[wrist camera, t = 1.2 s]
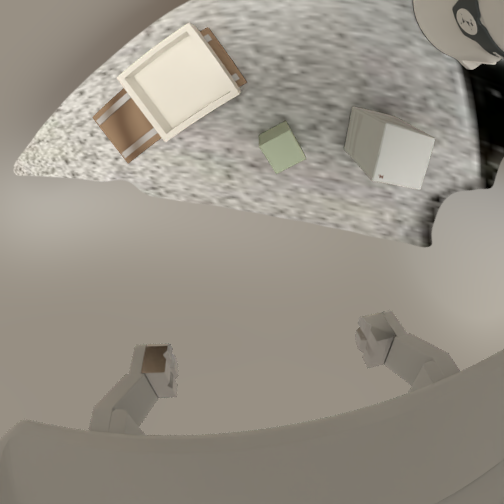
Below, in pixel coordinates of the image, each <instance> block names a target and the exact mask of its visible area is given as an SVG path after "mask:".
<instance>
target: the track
mask: <svg viewBox="0 0 504 504" xmlns="http://www.w3.org/2000/svg"><path fill="white" fill-rule="evenodd" d="M200 33H201V34H202V36H203V37H204V38H205V40H206V41H207V42H208V44H209V45H210V46H211V48H212V49H213V51H214V52H215V53H216V55H217V56H218V58H219V59H220V60H221V62H222V63H223V65H224V66H225V67H226V69H227V70H228V72H229V73H230V75H231V76H232V78H233V79H234V80H235V82H236V83H237V85H238V86H239V87H240V86H242V85H244V84H245V83H247V81H246V80H245V78H244V77H243V75H242V74H241V73H240V71H239V70H238V68H237V67H236V65H235V64H234V62H233V61H232V59H231V58H230V57H229V55H228V54H227V52H226V51H225V50H224V48H223V47H222V45H221V44H220V43H219V41H218V40H217V38H216V37H215V36H214V34H213V33H212V32H211V30H210V29H209V28H208V27H207V28H206V29H204V30H202V31H201V32H200ZM93 119H94V120H95V121H96V123H97V124H98V125H99V127H100V128H101V129H102V131H103V132H104V133H105V134H106V136H107V137H108V138H109V140H110V141H111V142H112V144H113V145H114V146H115V147H116V149H117V150H118V151H119V153H120V154H121V155H122V156H123V158H124V159H125V160H126V161H127V163H129V162H131V161H132V160H133V159H134V158H136V157H137V156H138V155H139V154H141V153H142V152H143V151H145V150H146V149H147V148H149V147H150V146H151V145H152V144H154V143H155V142H156V141H158V140H159V139H160V138H161V136H160V135H159V134H158V132H157V131H156V130H155V128H154V127H153V126H152V125H151V123H150V122H149V121H148V119H147V118H146V117H145V115H144V114H143V113H142V111H141V110H140V109H139V107H138V106H137V105H136V103H135V102H134V101H133V99H132V98H131V97H130V95H129V94H128V93H127V91H126V90H125V89H122V90H121V91H120V92H119V93H118V94H117V95H116V96H115V97H113V98H112V99H111V100H110V101H109V102H108V103H107V104H106V105H105V106H104V107H103V108H102V109H101V110H100V111H98V112H97V113H96V114H95V115H94V116H93Z"/></svg>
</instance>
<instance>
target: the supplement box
mask: <svg viewBox="0 0 504 504" xmlns="http://www.w3.org/2000/svg"><path fill="white" fill-rule="evenodd" d="M434 142H435V138H434V137H432V136H430V135H428V134H427V133H425V132H423V131H421V130H419V129H418V128H416V127H414V126H412V125H410V124H408V123H406V122H405V121H403V120H401V119H399V118H397V117H395V116H391V115H387V114H384V113H380V112H376V111H372V110H368V109H363V108H359V107H354V106H353V107H352V111H351V115H350V121H349V126H348V131H347V137H346V142H345V147H344V150H345V151H346V152H347V153H348V154H349V155H350V156H351V158H352V159H353V160H354V161H355V162H356V163H357V164H358V165H359V167H360V168H361V169H362V170H363V171H364V172H365V174H366V175H367V176H368V177H369V178H370V180H371V181H374V182H380V183H387V184H392V185H398V186H403V187H408V188H413V189H417V190H420V189H421V186H422V183H423V180H424V177H425V173H426V170H427V167H428V163H429V160H430V157H431V153H432V150H433V146H434Z"/></svg>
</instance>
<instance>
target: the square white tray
mask: <svg viewBox="0 0 504 504" xmlns="http://www.w3.org/2000/svg"><path fill="white" fill-rule="evenodd" d="M117 79H118V81H119V82H120V83H121V85H122V86H123V87H124V89H125V90H126V91H127V93H128V94H129V95H130V97H131V98H132V99H133V101H134V102H135V103H136V105H137V106H138V107H139V109H140V110H141V111H142V113H143V114H144V115H145V117H146V118H147V119H148V121H149V122H150V123H151V125H152V126H153V127H154V128H155V130H156V131H157V132H158V134H159V135H160V136H161V138H162V139H163V140H164V142H167V141H168V140H169V139H171V138H172V137H174V136H175V135H176V134H178V133H179V132H181V131H182V130H184V129H185V128H187V127H188V126H190V125H191V124H193V123H194V122H196V121H197V120H199V119H200V118H202V117H203V116H205V115H206V114H208V113H209V112H211V111H213V110H214V109H216V108H217V107H219V106H221V105H222V104H224V103H226V102H227V101H229V100H231V99H232V98H234V97H236V96H237V95H239V94H240V93H241V89H240V88H239V86H238V85H237V83H236V82H235V80H234V79H233V78H232V76H231V75H230V73H229V72H228V70H227V69H226V67H225V66H224V65H223V63H222V62H221V60H220V59H219V58H218V56H217V55H216V53H215V52H214V51H213V49H212V48H211V46H210V45H209V44H208V42H207V41H206V40H205V38H204V37H203V36H202V34H201V33H200V32H199V30H198V29H197V28H196V26H194V25H192V24H190V23H188V24H186V25H185V26H183V27H182V28H180V29H179V30H177V31H176V32H174V33H173V34H171V35H170V36H168V37H167V38H166V39H164V40H163V41H161V42H160V43H159V44H157V45H156V46H155V47H153V48H152V49H151V50H149V51H148V52H147V53H146V54H144V55H143V56H142V57H140V58H139V59H138V60H137V61H136V62H134V63H133V64H132V65H131V66H129V67H128V68H127V69H126V70H125V71H124V72H122V73H121V74H120V75H119V76H118V77H117Z"/></svg>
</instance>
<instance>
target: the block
mask: <svg viewBox="0 0 504 504" xmlns="http://www.w3.org/2000/svg"><path fill="white" fill-rule="evenodd" d="M259 147H260V149H261V150H262V152H263V154H264V155H265V157H266V158H267V160H268V162H269V163H270V165H271V166H272V168H273V170H274V171H275V173H276V174H278V173H280V172H282V171H284V170H286V169H287V168H289V167H291V166H293V165H295V164H297V163H299V162H301V161H303V160H305V159H306V157H305V155H304V153H303V151H302V149H301V146H300V145H299V143H298V141H297V139H296V138H295V136H294V134H293V132H292V131H291V129H290V127H289V126H288V124H287V122H286V121H284V122H282V123H281V124H279V125H277V126H275V127H273V128H271V129H269V130H267V131H266V132H264V133H262V134H260V135H259Z"/></svg>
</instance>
